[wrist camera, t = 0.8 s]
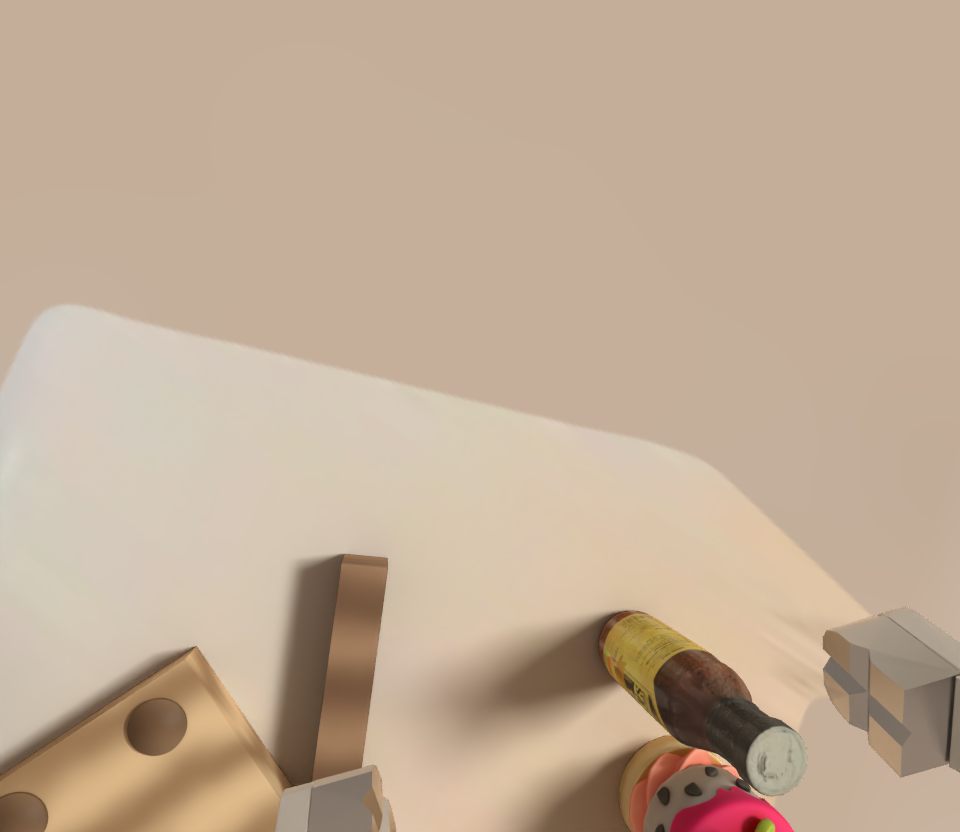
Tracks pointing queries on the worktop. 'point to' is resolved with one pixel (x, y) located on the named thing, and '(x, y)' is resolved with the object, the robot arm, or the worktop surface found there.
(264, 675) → the worktop surface
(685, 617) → the worktop surface
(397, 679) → the worktop surface
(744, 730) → the sauce bottle
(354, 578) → the brown wooden block
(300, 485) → the worktop surface
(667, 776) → the cake
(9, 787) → the stool seat
